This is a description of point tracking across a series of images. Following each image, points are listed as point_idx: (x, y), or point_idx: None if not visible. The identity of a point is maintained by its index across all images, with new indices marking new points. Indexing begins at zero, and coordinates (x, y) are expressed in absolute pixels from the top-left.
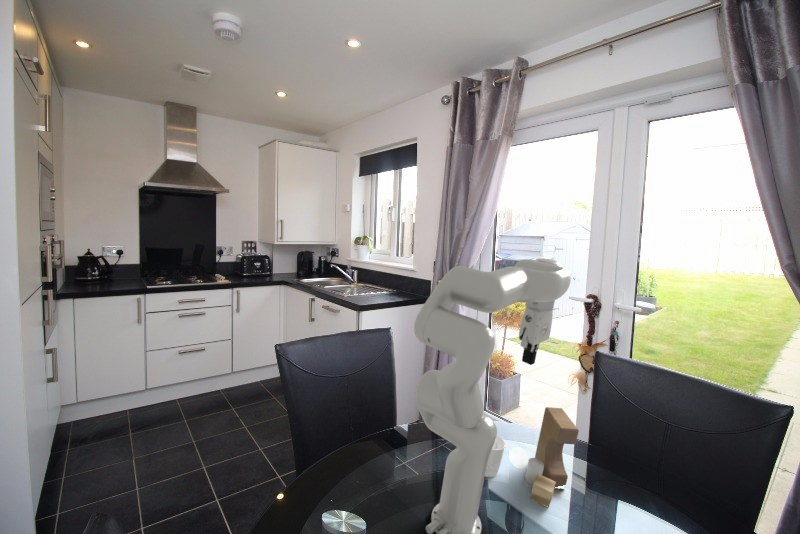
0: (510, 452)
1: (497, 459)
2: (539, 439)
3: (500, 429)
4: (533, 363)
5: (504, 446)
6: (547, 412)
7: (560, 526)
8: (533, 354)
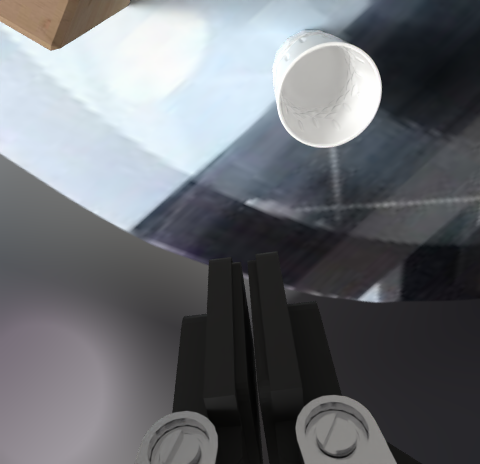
0: (167, 87)
1: (336, 37)
2: (109, 12)
3: (112, 183)
4: (229, 260)
5: (312, 48)
6: (76, 13)
7: None
8: (296, 360)
